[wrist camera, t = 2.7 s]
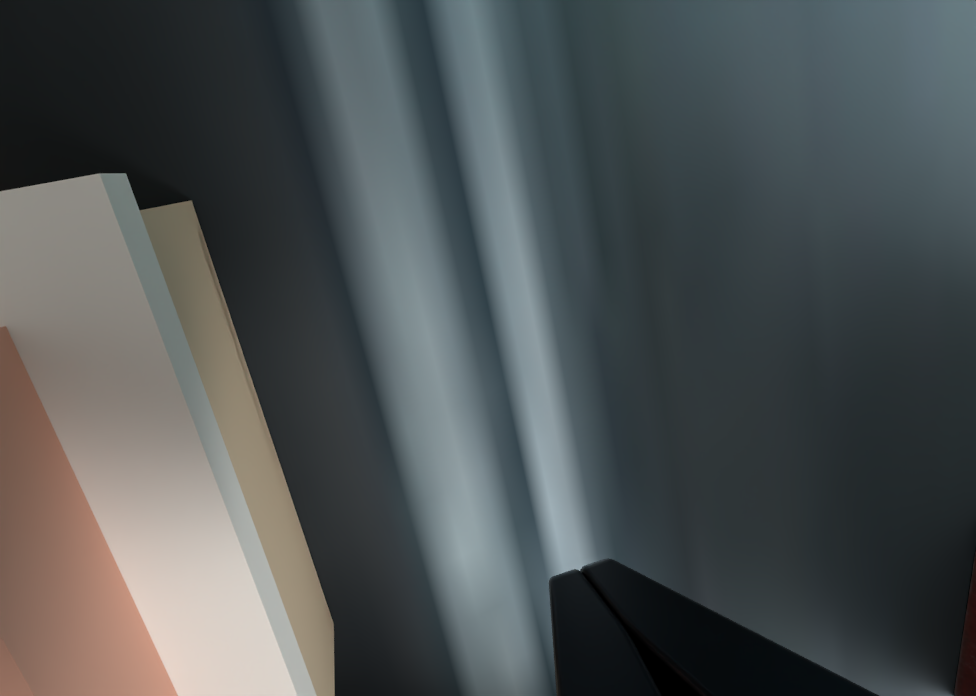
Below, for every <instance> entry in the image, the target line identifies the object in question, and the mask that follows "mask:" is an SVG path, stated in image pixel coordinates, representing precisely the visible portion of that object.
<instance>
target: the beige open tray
mask: <svg viewBox="0 0 976 696" xmlns="http://www.w3.org/2000/svg"><path fill="white" fill-rule="evenodd" d="M139 211H140V213H141V216H142V219H143V222H144V224H145V227H146V230H147V232H148V235H149V238H150V241H151V243H152V246H153V249H154V252H155V254H156V257H157V260H158V263H159V265H160V268H161V271H162V274H163V276H164V279H165V282H166V285H167V287H168V290H169V293H170V295H171V298H172V301H173V304H174V306H175V309H176V312H177V315H178V317H179V320H180V323H181V326H182V328H183V331H184V334H185V337H186V339H187V342H188V345H189V347H190V350H191V353H192V356H193V358H194V361H195V364H196V367H197V369H198V372H199V375H200V378H201V380H202V383H203V386H204V389H205V391H206V394H207V397H208V399H209V402H210V405H211V408H212V410H213V413H214V416H215V419H216V421H217V424H218V427H219V430H220V432H221V435H222V438H223V441H224V443H225V446H226V449H227V452H228V454H229V457H230V460H231V462H232V465H233V468H234V471H235V473H236V476H237V479H238V482H239V484H240V487H241V490H242V493H243V495H244V498H245V501H246V504H247V506H248V509H249V512H250V514H251V517H252V520H253V523H254V525H255V528H256V531H257V534H258V536H259V539H260V542H261V545H262V547H263V550H264V553H265V556H266V558H267V561H268V564H269V566H270V569H271V572H272V575H273V577H274V580H275V583H276V586H277V588H278V591H279V594H280V597H281V599H282V602H283V605H284V608H285V610H286V613H287V616H288V619H289V621H290V624H291V627H292V629H293V632H294V635H295V638H296V640H297V643H298V646H299V649H300V651H301V654H302V657H303V660H304V662H305V665H306V668H307V671H308V673H309V676H310V679H311V681H312V684H313V687H314V690H315V692H316V695H317V696H335V680H334V623H333V620H332V617H331V614H330V611H329V608H328V605H327V602H326V600H325V597H324V594H323V591H322V588H321V585H320V582H319V579H318V576H317V573H316V570H315V567H314V564H313V561H312V558H311V555H310V552H309V549H308V546H307V543H306V540H305V537H304V534H303V531H302V528H301V525H300V522H299V519H298V516H297V513H296V510H295V507H294V504H293V501H292V498H291V495H290V492H289V489H288V486H287V483H286V480H285V477H284V474H283V471H282V468H281V465H280V462H279V459H278V456H277V454H276V451H275V448H274V445H273V442H272V439H271V436H270V433H269V430H268V427H267V424H266V421H265V418H264V415H263V412H262V409H261V406H260V403H259V400H258V397H257V394H256V391H255V388H254V385H253V382H252V379H251V376H250V373H249V370H248V367H247V364H246V361H245V358H244V355H243V352H242V349H241V346H240V343H239V340H238V337H237V334H236V331H235V328H234V325H233V322H232V319H231V316H230V313H229V310H228V307H227V305H226V302H225V299H224V296H223V293H222V290H221V287H220V284H219V281H218V278H217V275H216V272H215V269H214V266H213V263H212V260H211V257H210V254H209V251H208V248H207V245H206V242H205V239H204V236H203V233H202V230H201V227H200V224H199V221H198V218H197V215H196V212H195V209H194V206H193V203H192V200H191V201H185V202H180V203H175V204H170V205H165V206H160V207H154V208H149V209H144V210H139Z"/></svg>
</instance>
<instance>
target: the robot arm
mask: <svg viewBox="0 0 976 696" xmlns="http://www.w3.org/2000/svg"><path fill="white" fill-rule="evenodd" d="M549 592H550V606H551V621H552V635H553V650H554V664H555V679H556V693H557V696H879V695H877V694H875V693H873V692H871V691H869V690H867V689H865V688H863V687H861V686H859V685H857V684H855V683H853V682H851V681H849V680H847V679H845V678H843V677H841V676H840V675H838V674H836V673H834V672H832V671H830V670H828V669H826V668H824V667H822V666H820V665H818V664H816V663H814V662H812V661H810V660H808V659H806V658H804V657H802V656H800V655H798V654H796V653H795V652H793V651H791V650H789V649H787V648H785V647H783V646H781V645H779V644H777V643H775V642H773V641H771V640H769V639H767V638H765V637H763V636H761V635H759V634H757V633H755V632H753V631H752V630H750V629H748V628H746V627H744V626H742V625H740V624H738V623H736V622H734V621H732V620H730V619H728V618H726V617H724V616H722V615H720V614H718V613H716V612H714V611H712V610H710V609H708V608H707V607H705V606H703V605H701V604H699V603H697V602H695V601H693V600H691V599H689V598H687V597H685V596H683V595H681V594H679V593H677V592H675V591H673V590H671V589H669V588H667V587H665V586H664V585H662V584H660V583H658V582H656V581H654V580H652V579H650V578H648V577H646V576H644V575H642V574H640V573H638V572H636V571H634V570H632V569H630V568H628V567H626V566H624V565H622V564H620V563H619V562H617V561H615V560H612V559H603V560H600V561H597V562H594V563H591V564H588V565H585V566H583V567H582V569H581V570H580V571H579V570H576V569H574V570H571V571H568V572H565V573H562V574H559V575H556V576H553V577H551V578H550V580H549Z"/></svg>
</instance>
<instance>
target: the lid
mask: <svg viewBox="0 0 976 696" xmlns="http://www.w3.org/2000/svg"><path fill="white" fill-rule="evenodd" d="M0 696H317V695H316V692H315V690H314V687H313V684H312V681H311V679H310V676H309V673H308V671H307V668H306V665H305V662H304V660H303V657H302V654H301V651H300V649H299V646H298V643H297V640H296V638H295V635H294V632H293V629H292V627H291V624H290V621H289V619H288V616H287V613H286V610H285V608H284V605H283V602H282V599H281V597H280V594H279V591H278V588H277V586H276V583H275V580H274V577H273V575H272V572H271V569H270V566H269V564H268V561H267V558H266V556H265V553H264V550H263V547H262V545H261V542H260V539H259V536H258V534H257V531H256V528H255V525H254V523H253V520H252V517H251V514H250V512H249V509H248V506H247V504H246V501H245V498H244V495H243V493H242V490H241V487H240V484H239V482H238V479H237V476H236V473H235V471H234V468H233V465H232V462H231V460H230V457H229V454H228V452H227V449H226V446H225V443H224V441H223V438H222V435H221V432H220V430H219V427H218V424H217V421H216V419H215V416H214V413H213V410H212V408H211V405H210V402H209V399H208V397H207V394H206V391H205V389H204V386H203V383H202V380H201V378H200V375H199V372H198V369H197V367H196V364H195V361H194V358H193V356H192V353H191V350H190V347H189V345H188V342H187V339H186V337H185V334H184V331H183V328H182V326H181V323H180V320H179V317H178V315H177V312H176V309H175V306H174V304H173V301H172V298H171V295H170V293H169V290H168V287H167V285H166V282H165V279H164V276H163V274H162V271H161V268H160V265H159V263H158V260H157V257H156V254H155V252H154V249H153V246H152V243H151V241H150V238H149V235H148V232H147V230H146V227H145V224H144V222H143V219H142V216H141V213H140V211H139V208H138V205H137V202H136V200H135V197H134V194H133V191H132V189H131V186H130V183H129V180H128V178H127V175H126V173H99V174H94V175H88V176H83V177H77V178H72V179H66V180H61V181H55V182H49V183H44V184H38V185H33V186H27V187H22V188H16V189H11V190H5V191H0Z"/></svg>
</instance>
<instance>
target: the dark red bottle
mask: <svg viewBox="0 0 976 696" xmlns="http://www.w3.org/2000/svg"><path fill="white" fill-rule="evenodd" d="M954 694H955V696H976V551H975V557H974V564H973V571H972V577H971V584H970V591H969V597H968V604H967V611H966V617H965V624H964V631H963V637H962V644H961V651H960V657H959V664H958V671H957V677H956V684H955V691H954Z"/></svg>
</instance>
